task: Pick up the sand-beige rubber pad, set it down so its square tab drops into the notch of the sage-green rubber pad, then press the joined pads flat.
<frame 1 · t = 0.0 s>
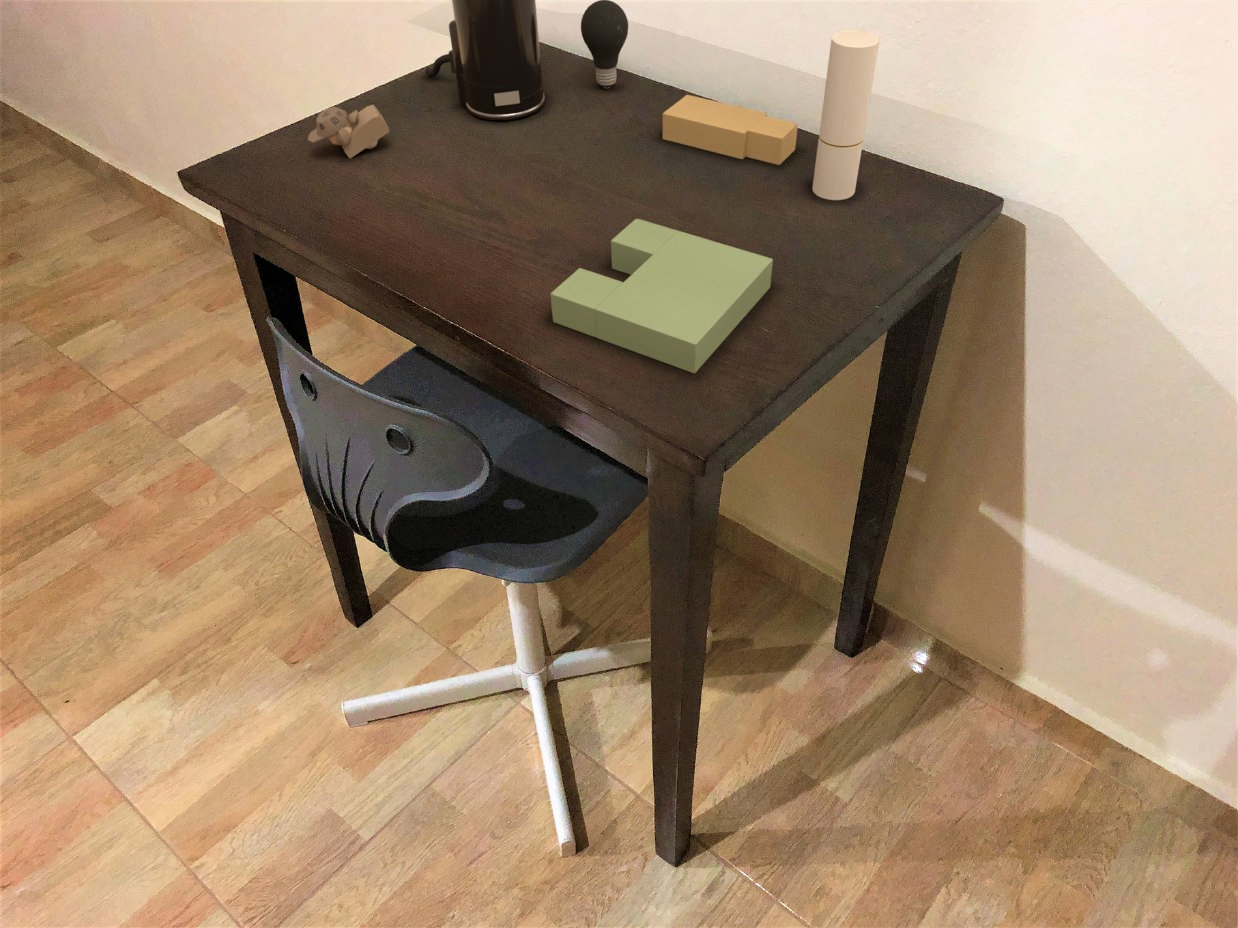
light bulb: (606, 88, 114), on the table
base pad: (663, 304, 82), on the table
tube: (833, 191, 95), on the table
toy character: (352, 153, 104), on the table
loose pad: (713, 139, 104), on the table
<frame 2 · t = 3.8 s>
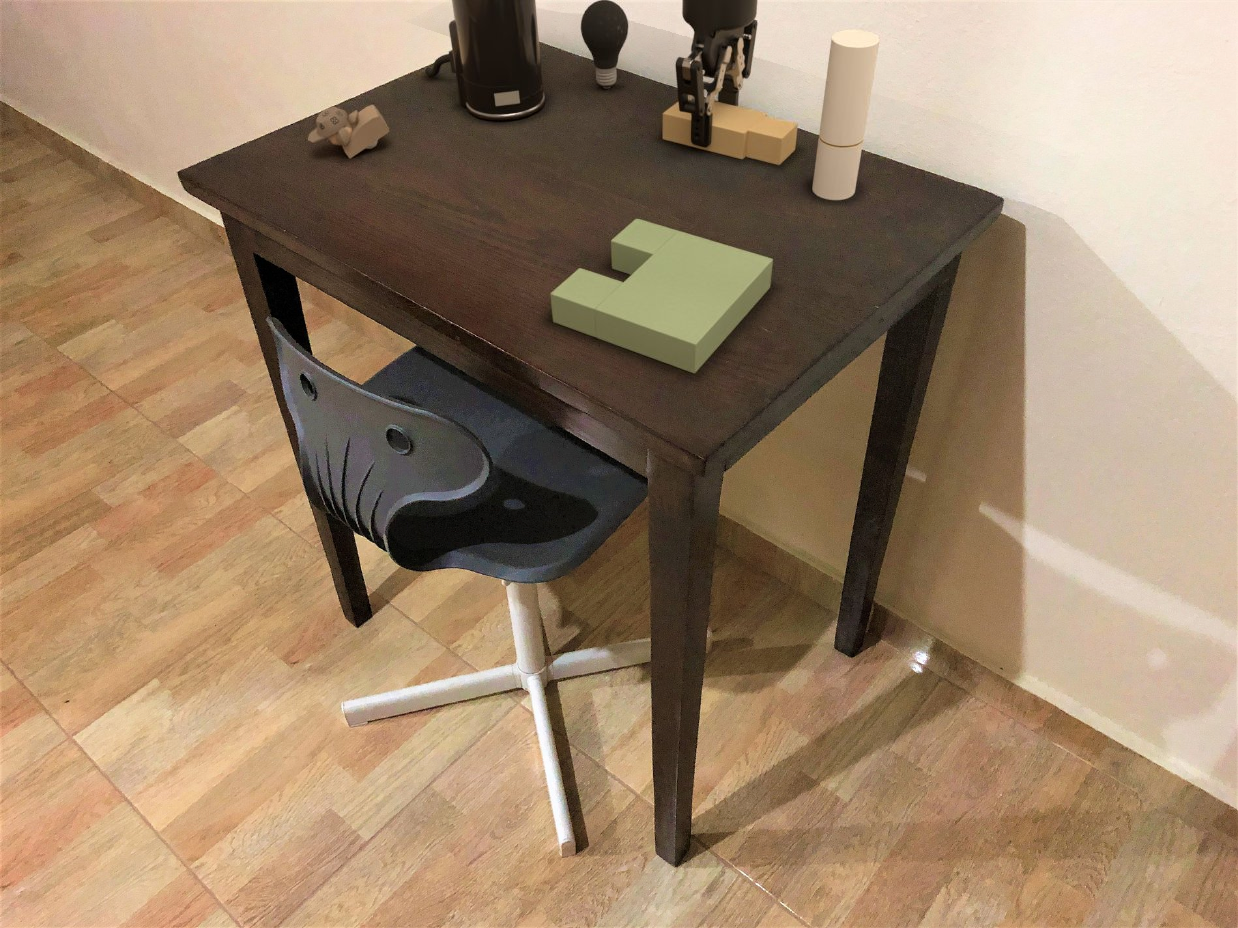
hand: (714, 133, 103), 1 cm above the table, tool pointing down, fingers closed on loose pad, 5 cm apart
loose pad: (713, 139, 104), on the table, touching gripper
everything else where it was.
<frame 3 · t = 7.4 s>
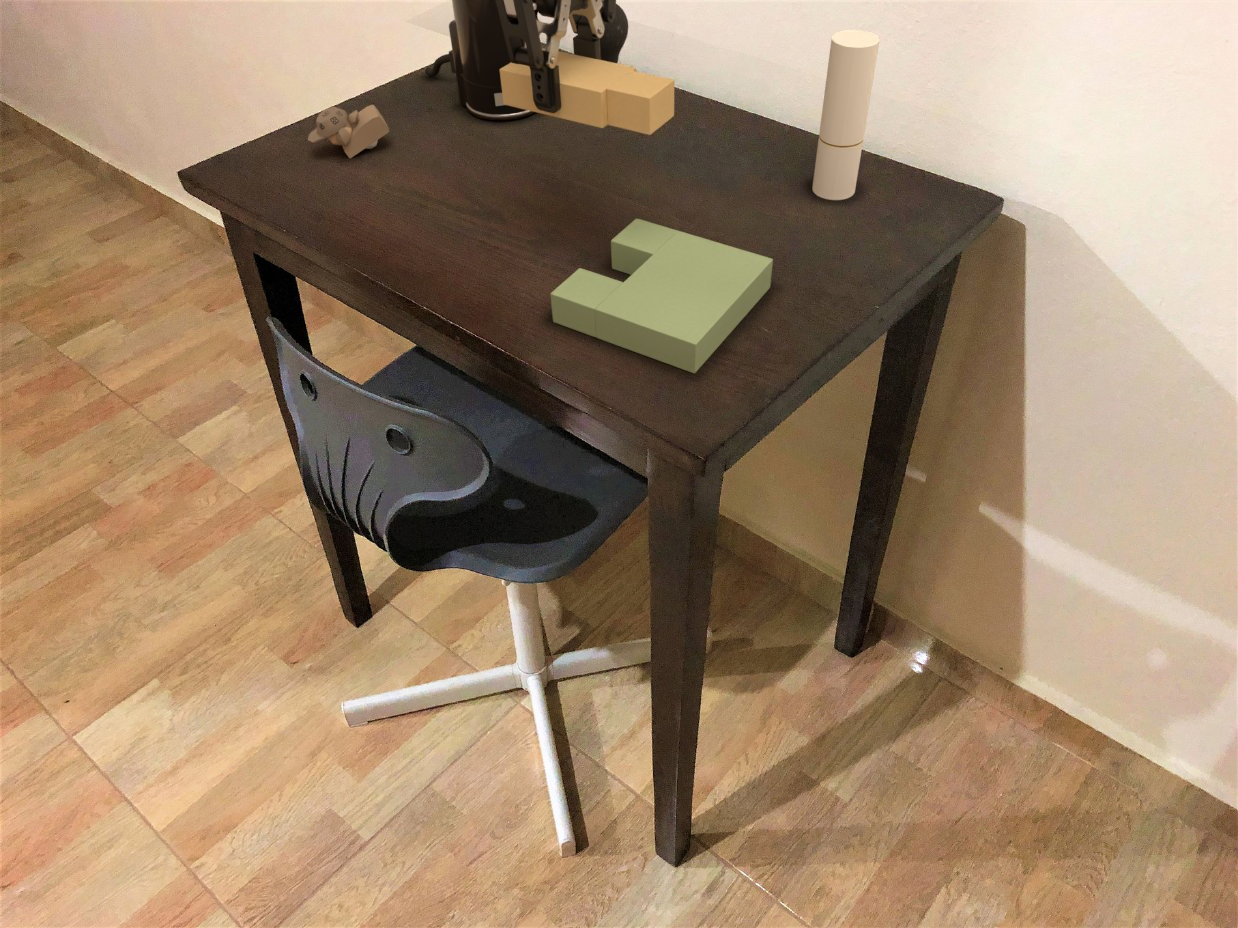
hand: (568, 95, 78), 15 cm above the table, tool pointing down, fingers closed on loose pad, 5 cm apart
loose pad: (570, 104, 79), point 14 cm above the table, touching gripper
everything else where it was.
when the fingers open (1 cm above the table, at t = 11.0 s): loose pad stays where it is, on the table.
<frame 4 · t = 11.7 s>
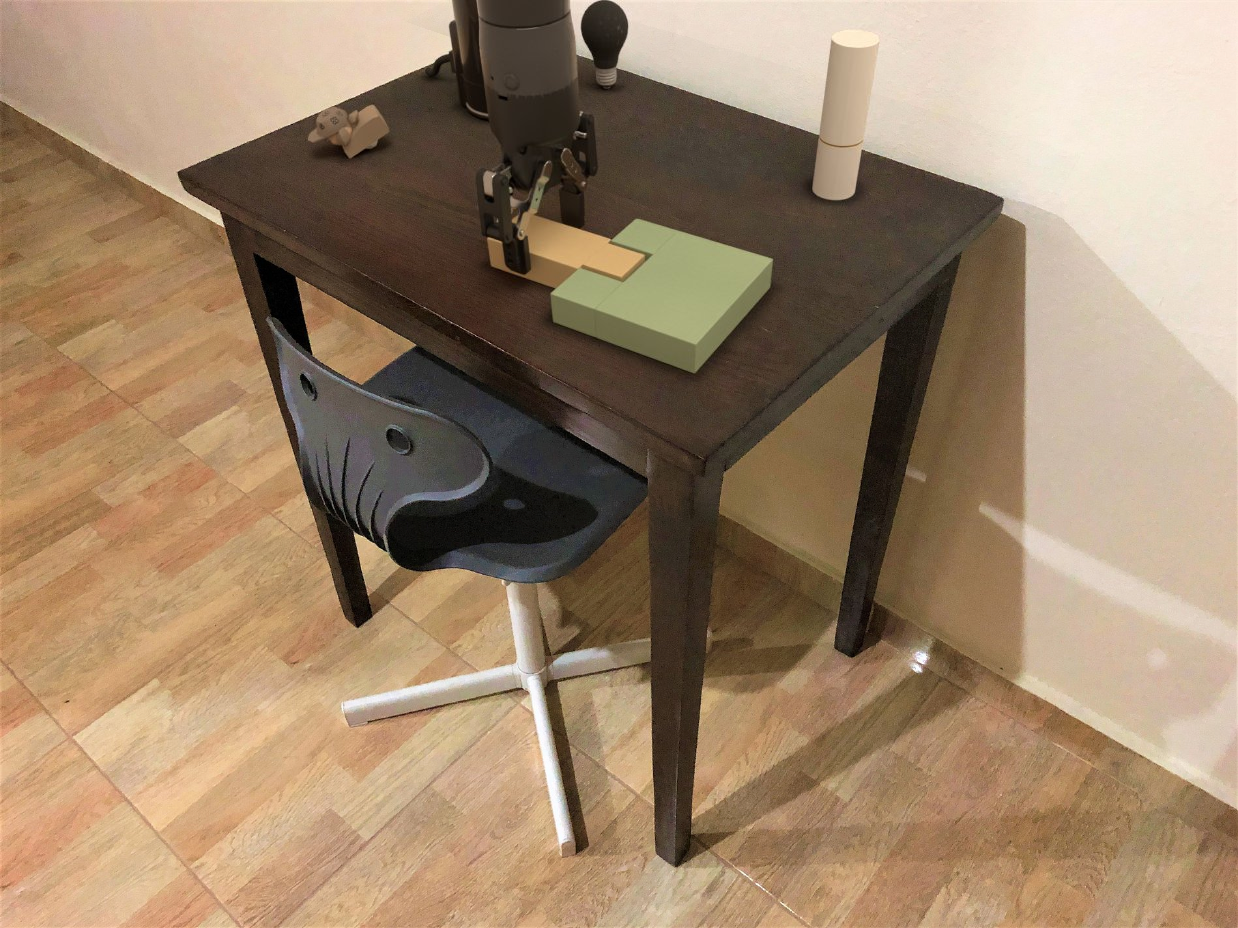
hand: (547, 248, 85), 2 cm above the table, tool pointing down, fingers open, 8 cm apart
loose pad: (551, 266, 87), on the table
everything else where it was.
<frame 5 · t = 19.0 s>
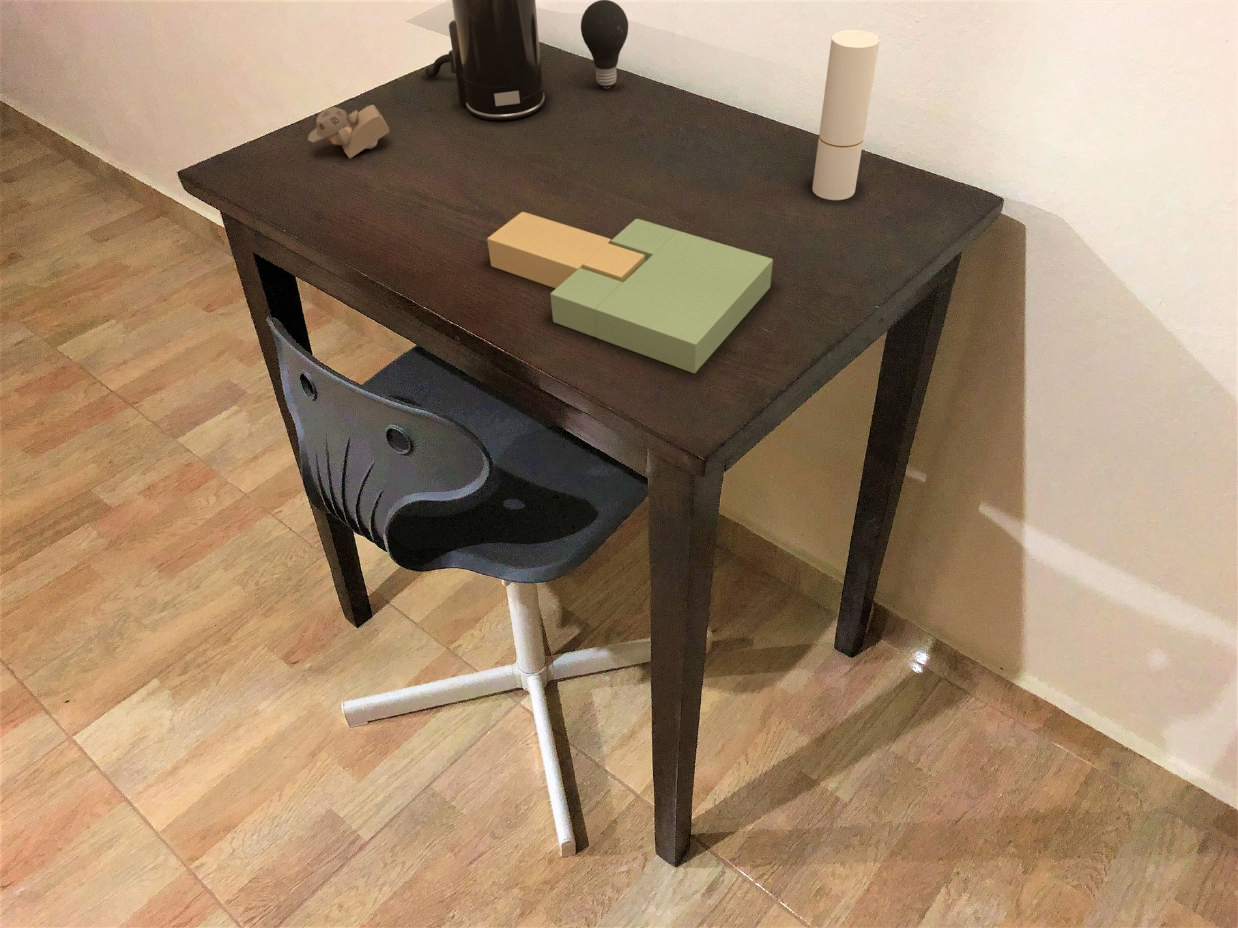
nothing on the table moved.
at the end: loose pad 0.2 cm from the target spot on the table beside the base pad, on the table; loose pad tilted 0°; the gripper is holding nothing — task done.
